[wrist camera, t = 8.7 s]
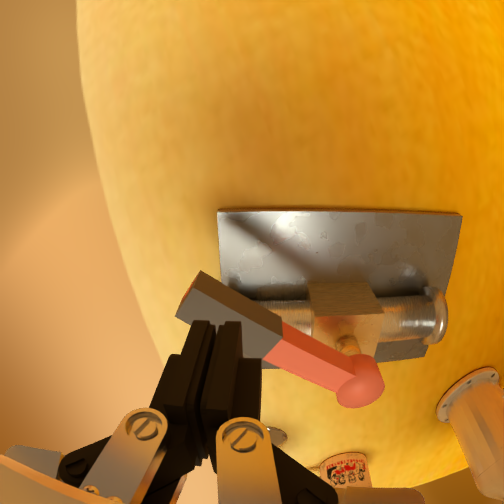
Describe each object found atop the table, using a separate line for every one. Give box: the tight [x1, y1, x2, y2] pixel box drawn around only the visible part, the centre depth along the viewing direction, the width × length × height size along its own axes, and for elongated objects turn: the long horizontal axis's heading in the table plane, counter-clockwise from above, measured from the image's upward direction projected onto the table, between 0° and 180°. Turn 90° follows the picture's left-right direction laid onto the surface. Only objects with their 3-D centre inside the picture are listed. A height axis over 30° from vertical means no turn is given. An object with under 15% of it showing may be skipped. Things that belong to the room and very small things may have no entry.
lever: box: [175, 270, 385, 408], centre depth 20 cm, size 16×4×2 cm, turn 57°
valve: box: [217, 208, 463, 369], centre depth 26 cm, size 24×18×10 cm
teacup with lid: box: [319, 453, 372, 488], centre depth 39 cm, size 12×9×12 cm
